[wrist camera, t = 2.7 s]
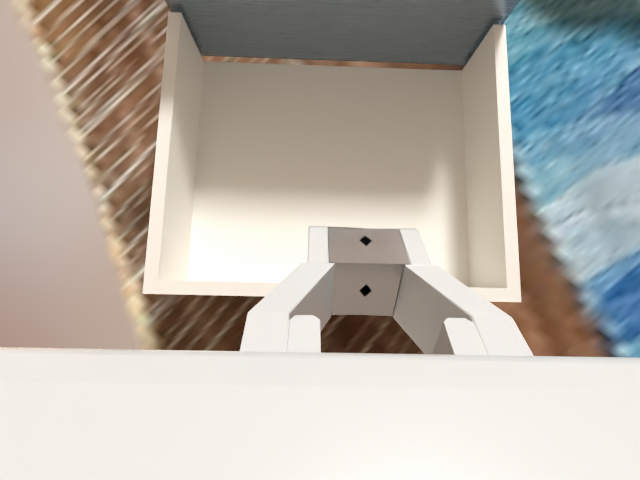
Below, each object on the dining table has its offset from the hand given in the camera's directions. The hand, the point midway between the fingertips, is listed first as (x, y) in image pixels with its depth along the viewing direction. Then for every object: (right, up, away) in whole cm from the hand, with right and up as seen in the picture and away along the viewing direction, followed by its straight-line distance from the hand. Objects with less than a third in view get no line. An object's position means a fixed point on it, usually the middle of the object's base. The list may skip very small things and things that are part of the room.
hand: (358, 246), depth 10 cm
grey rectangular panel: (0, +15, +18) cm, 24 cm away
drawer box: (0, +5, +19) cm, 20 cm away
